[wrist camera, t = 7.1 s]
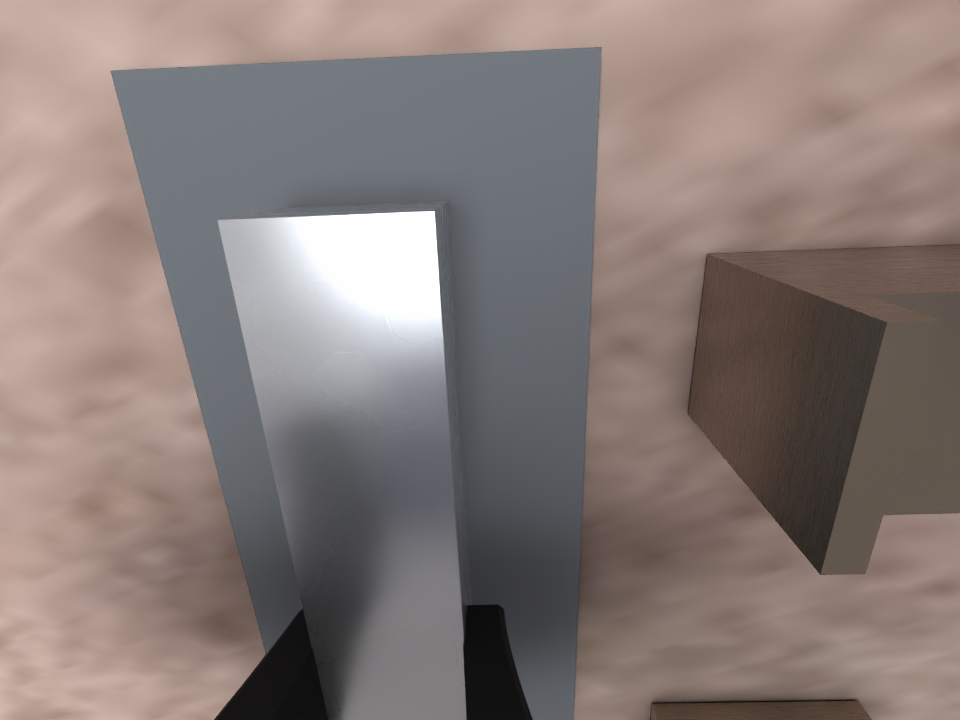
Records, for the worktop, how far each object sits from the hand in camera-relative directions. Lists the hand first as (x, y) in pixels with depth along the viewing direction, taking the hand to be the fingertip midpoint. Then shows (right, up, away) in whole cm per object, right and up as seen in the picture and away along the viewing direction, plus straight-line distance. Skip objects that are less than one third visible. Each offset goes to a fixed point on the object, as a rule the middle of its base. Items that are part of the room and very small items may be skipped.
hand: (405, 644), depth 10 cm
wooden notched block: (+8, +6, -1) cm, 10 cm away
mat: (0, +1, +1) cm, 2 cm away
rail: (0, 0, +1) cm, 1 cm away
